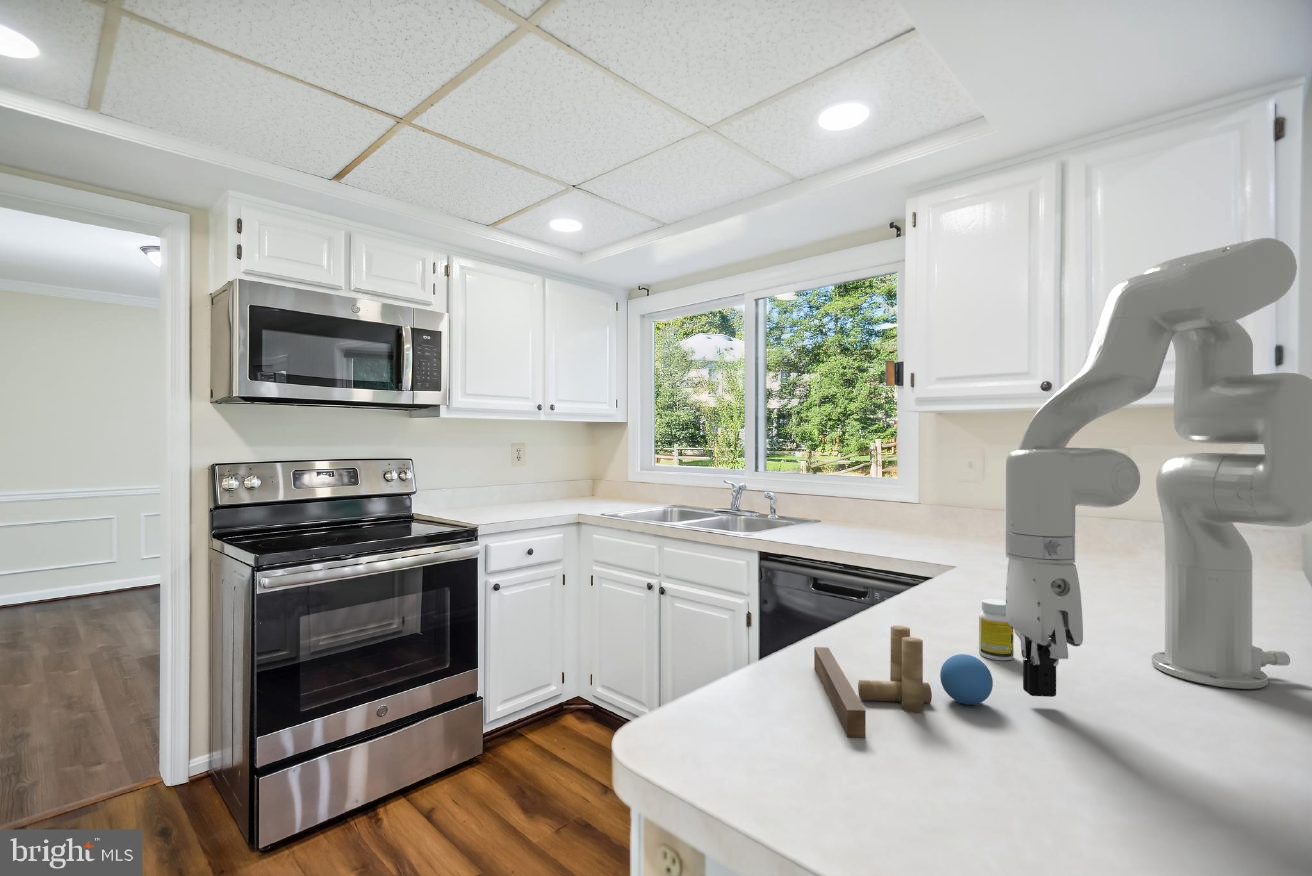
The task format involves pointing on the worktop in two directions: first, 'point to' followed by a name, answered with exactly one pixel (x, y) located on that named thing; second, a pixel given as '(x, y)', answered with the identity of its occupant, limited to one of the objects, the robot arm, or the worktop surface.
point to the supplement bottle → (995, 631)
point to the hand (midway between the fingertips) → (1039, 693)
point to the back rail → (840, 693)
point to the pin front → (887, 691)
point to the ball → (966, 679)
